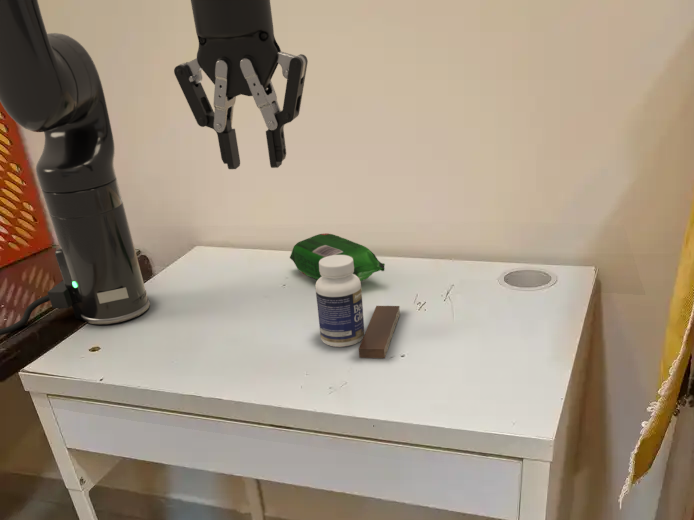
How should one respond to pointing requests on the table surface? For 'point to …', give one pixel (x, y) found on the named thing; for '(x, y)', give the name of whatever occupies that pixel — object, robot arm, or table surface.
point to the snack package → (327, 245)
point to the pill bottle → (339, 302)
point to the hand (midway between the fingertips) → (255, 166)
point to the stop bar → (379, 332)
